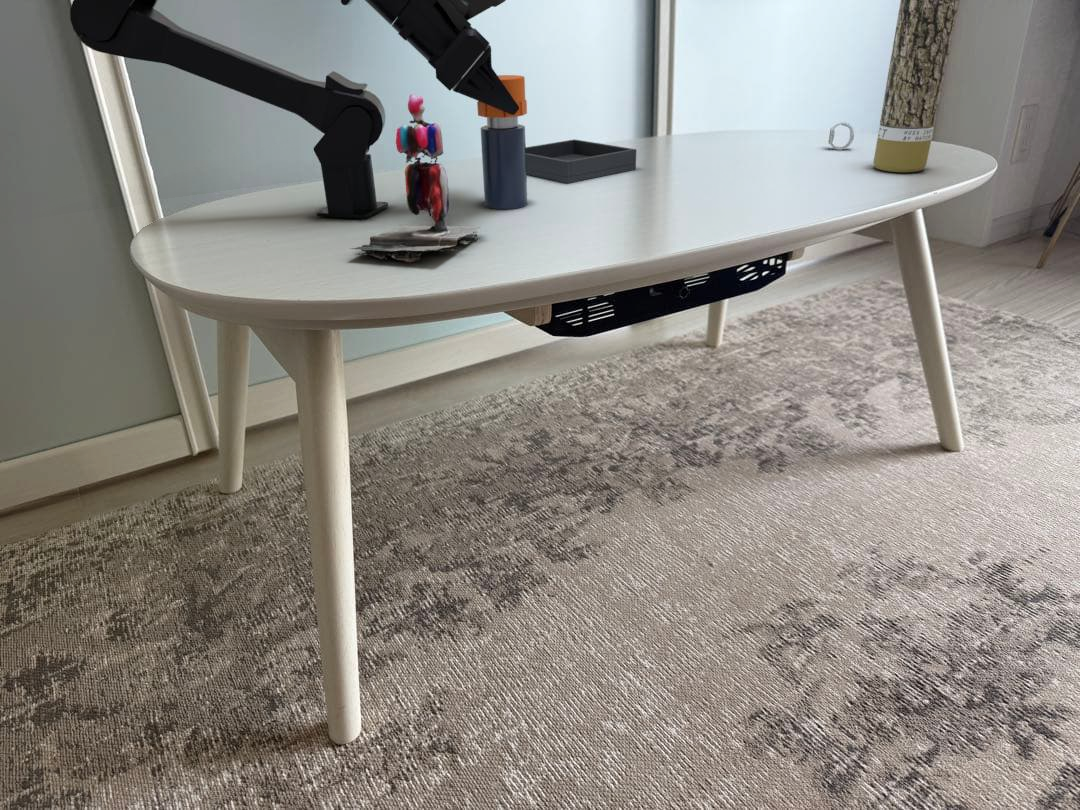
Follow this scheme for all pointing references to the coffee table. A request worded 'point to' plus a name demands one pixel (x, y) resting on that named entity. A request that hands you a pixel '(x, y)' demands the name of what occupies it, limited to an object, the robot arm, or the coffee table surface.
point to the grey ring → (833, 135)
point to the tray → (578, 160)
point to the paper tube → (914, 83)
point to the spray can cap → (516, 90)
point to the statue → (420, 195)
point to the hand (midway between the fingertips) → (514, 108)
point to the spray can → (504, 163)
